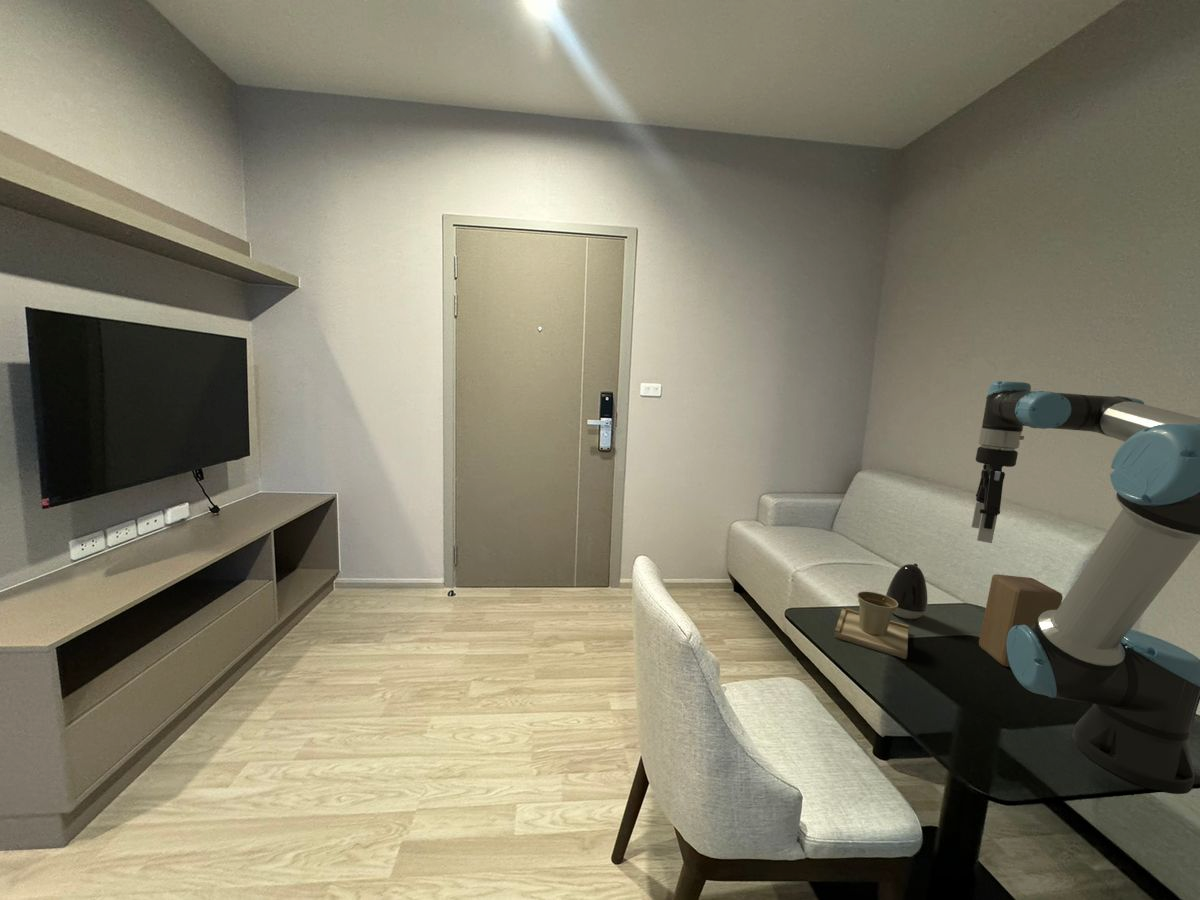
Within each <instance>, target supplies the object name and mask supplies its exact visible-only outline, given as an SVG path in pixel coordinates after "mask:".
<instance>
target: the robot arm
mask: <svg viewBox="0 0 1200 900" xmlns="http://www.w3.org/2000/svg"><path fill="white" fill-rule="evenodd" d="M988 389H989V390H988V393H987V395H986V401H985V405H984V407H985V408H984V412H983V420H982V425H981V428H980V433H979V438H978V442H977V443H978V444H979V447H977V450H976V456H975V462H977V463H980V464H983V466H982V468H983V469H982V470H981V475H980V479H979V480H980V481H979V484H978V489H977V491H976V494H975V501H976V502H975V505H974V511H973V516H972V521H971V526H970V527H971V528H975V529H978V532H977V537H976V541H978V542H984V543H987V544H988V543H989V544H992V543H993V539H994V535H995V529H996V524H997V520H998V515H1000V513H1001V506H1002V505H1001V503H1002V497H1003V496H1002V495H1003V485H1004V479H1005V476H1006V473H1005V471H1003V467H1005V468H1011V467H1015V466H1016V465H1017V459H1018V454H1019V452H1018V450H1017V449H1019V448H1020V442H1021V441H1022V440H1025V436H1024V435H1022V432H1023V429H1024V427H1028V428H1032V429H1041V430H1044V429H1053V430H1054V429H1056V430H1067V431H1068V430H1069V431H1083V432H1092V433H1097V434H1100V435H1103V436H1106V437H1109V438H1113V439H1117V440H1119V441H1121V442H1123V443H1122V444H1121V445H1120V447H1119V448H1118V449H1117V451H1116V453H1115V454H1114V457H1113V458H1112V461H1111V466H1110V468H1111V469H1113V471H1112V472H1111V473H1110V474H1109V476H1110V482H1111V484H1112V487H1113V489H1114V490H1115V492H1116V494H1115V499H1116V501H1117V502H1118V504H1119V505H1120V507H1121V508H1122V509H1121V511H1120V512H1119V514H1118V515H1117V517H1116V519H1114V522H1113V523H1112V525H1111V526H1110V527H1109V529H1108V531H1107V532H1106V533H1105V535H1104V537H1103V538H1102V540H1101V541H1100V543H1099V544H1098V546H1097V548H1096V550H1095V551H1094V552H1093V554H1092V555H1091V557H1090V558H1089V560H1088V562H1087V563H1086V565H1085V566H1084V568H1083V569H1082V571H1081V573H1080V574H1079V576H1078V577H1077V579H1076V580H1075V582H1074V583H1073V584H1072V586H1071V587H1070V589H1069V591H1068V593H1066V595H1065V597H1064V598H1063V599H1062V602H1061V605H1060V606H1059V608H1058V609H1057V610H1048V611H1045V612H1043V613H1042V614H1041V615H1040V616H1039V618H1038V619H1037V621H1036V622H1035V624H1034V625H1033V626H1031V627H1029V626H1026V625H1016V626H1014V627H1012V628H1011V629H1010V631H1009V633H1008V636H1007V644H1006V646H1007V654H1008V660H1009V664H1010V667H1009V668H1010V669H1011V671H1012V673H1013V675H1014V677H1015V679H1016V680H1017V681H1018V683H1019V684H1020V685H1021V686H1022V687H1023V688H1024V689H1026V690H1027V691H1029V692H1031V693H1034V694H1038V695H1043V696H1047V697H1048V698H1052V699H1054V698H1055V699H1062V700H1068V701H1075V702H1082V703H1086V704H1092V706H1091V707H1089V709H1088V710H1086V712H1085V713H1084V714H1083V715H1082V716H1081V718H1079V720H1077V722H1076V723H1075V725H1074V728H1073V731H1072V736H1071V737H1072V741H1073V743H1074V745H1075V746H1076V748H1078V749H1079V750H1080V752H1082V753H1083V755H1085V756H1086V757H1087V758H1089V759H1090V760H1091V761H1092V762H1094V763H1095V764H1098V765H1099V766H1100V767H1102V768H1103V769H1105V770H1107V771H1109V772H1111V773H1112V774H1114V775H1116V776H1118V777H1121V778H1122V779H1124V780H1127V781H1129V782H1132V783H1134V784H1137V785H1139V786H1141V787H1144V788H1147V789H1151V790H1153V791H1157V790H1164V791H1160V792H1161V793H1166V794H1172V795H1184V794H1188V793H1190V792H1191V791H1192V789H1193V786H1194V781H1195V775H1196V774H1195V769H1194V764H1193V760H1192V756H1191V752H1190V751H1191V750H1190V746H1189V738H1190V734H1191V731H1192V726H1193V724H1194V720H1195V717H1196V713H1197V711H1198V707H1199V704H1200V658H1199V657H1198V656H1195V655H1194V654H1193V653H1191V652H1189V651H1188V650H1186V649H1184V648H1181V647H1179V646H1177V645H1176V644H1173V643H1171V642H1169V641H1166V640H1164V639H1162V638H1158V637H1157V636H1153V635H1151V634H1148V633H1144V632H1141V631H1138V630H1134V629H1132V628H1134V626H1135V624H1136V623H1137V622H1138V620H1139V619H1140V618H1141V617H1142V615H1143V614H1144V613H1145V611H1146V610H1147V609H1148V607H1149V606H1150V605H1151V604H1152V603H1153V602H1154V599H1156V597H1157V596H1158V595H1159V593H1160V592H1161V591H1162V590H1163V589H1164V587H1165V586H1166V585H1167V584H1168V582H1169V581H1170V579H1171V578H1172V577H1173V576H1174V574H1175V573H1177V570H1178V569H1179V568H1180V566H1181V565H1182V564H1183V563H1184V562H1185V561H1186V559H1187V558H1188V556H1189V555H1190V554H1191V553H1192V551H1193V550H1194V548H1195V547H1196V546H1197V545H1198V544H1199V542H1200V417H1197V416H1192V415H1188V414H1185V413H1181V412H1176V411H1173V410H1172V411H1171V410H1168V409H1165V408H1160V407H1156V406H1152V405H1148V404H1145V401H1143V400H1141V399H1138V398H1135V397H1133V398H1132V397H1128V396H1127V397H1126V396H1120V395H1115V396H1113V395H1112V396H1109V395H1093V394H1078V393H1077V394H1076V393H1065V392H1054V391H1047V390H1046V391H1044V390H1037V391H1036V390H1035V391H1032V386H1031V384H1030V383H1028V382H1022V381H1021V382H1019V381H1000V380H997V381H993V382H992V383H990V386H989V388H988Z"/></svg>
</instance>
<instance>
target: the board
mask: <svg viewBox="0 0 1200 900" xmlns="http://www.w3.org/2000/svg"><path fill="white" fill-rule="evenodd" d="M833 637H834V638H836V639H839V640H842V641H845V642H849V643H852V644H856V645H859V646H862V647H864V648H867V649H871V650H875V651H878V652H881V653H884V654H887V655H889V656H894V657H898V658H900V659H903V660H907V657H908V646H909V645H908V643H909V642H908V641H909V625H908V624H904V623H901V622H899V621H898V622H897V621H895V620H890V623H889V626H888V629H887V632H886V634H885V635H882V636H879V635H877V634H875V635H872V634H869V633H867V632H865V631H863V630H862V629H861V628H860V627H859V610H854V609H850V608H847V607H844V606H842V609H841V611H840V614H839V618H838V621H837V624H836V625H835V629H834V636H833Z"/></svg>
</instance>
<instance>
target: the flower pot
mask: <svg viewBox="0 0 1200 900" xmlns="http://www.w3.org/2000/svg"><path fill="white" fill-rule="evenodd" d="M856 597H857V599H858V600H857V601H858V603H859V606H858V607H859V608H858V609H859V610H858V611H859V627H860V628H861V629H862V630H863V631H865V632H867V633H869V634H872V635H875V634H877V635H879V636H882V635H885V634H886V632H887V629H888V626H889V623H890V620H891V619H892V617H893V614H894V613H893V612H894V611H895V609H896V608H897V607H898V603H897V601H895V600H894V599H892V598H890V597H888V596H886V594H882V593H880V592H879V593H878V592H874V591H868V590H867V591H866V590H864V591H859V592H857V594H856ZM891 621H892V620H891Z"/></svg>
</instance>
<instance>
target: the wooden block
mask: <svg viewBox="0 0 1200 900" xmlns="http://www.w3.org/2000/svg"><path fill="white" fill-rule="evenodd" d="M989 586H990V587H989V591H988V596H987V602H986V606H985V611H984V614H983V615H984V616H983V620H982V626H981V630H980V634H979V640H978V645H979V647H980V648H981V649H982V650H983V651H984V652H986V653H987V654H988V655H989V656H991V657H992V658H993V659H994V660H995V661H996V662H998V663H999V664H1001V666H1004V667H1007V668H1011V667H1010V664H1009V660H1008V654H1007V646H1006V644H1007V636H1008V633H1009V631H1010V629H1011V628H1012V627H1014V626H1016V625H1026V626H1029V627H1031V626H1033V625H1034V624H1035V622H1036V621H1037V619H1038V618H1039V616H1040V615H1041V614H1042V613H1043V612H1045V611H1048V610H1057V609H1058V608H1059V606H1060V605H1061V603H1062V601H1063V599H1064V598H1063V594H1062V593H1061V592H1060V591H1057V590H1056V589H1054V588H1052V587H1050V586H1048V585H1046V584H1045V583H1042V582H1041V581H1039V580H1037V579H1035V578H1033V577H1028V576H1016V575H1008V574H1007V575H1006V574H998V573H997V574H993V575H992V576H991V581H990V585H989Z"/></svg>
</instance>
